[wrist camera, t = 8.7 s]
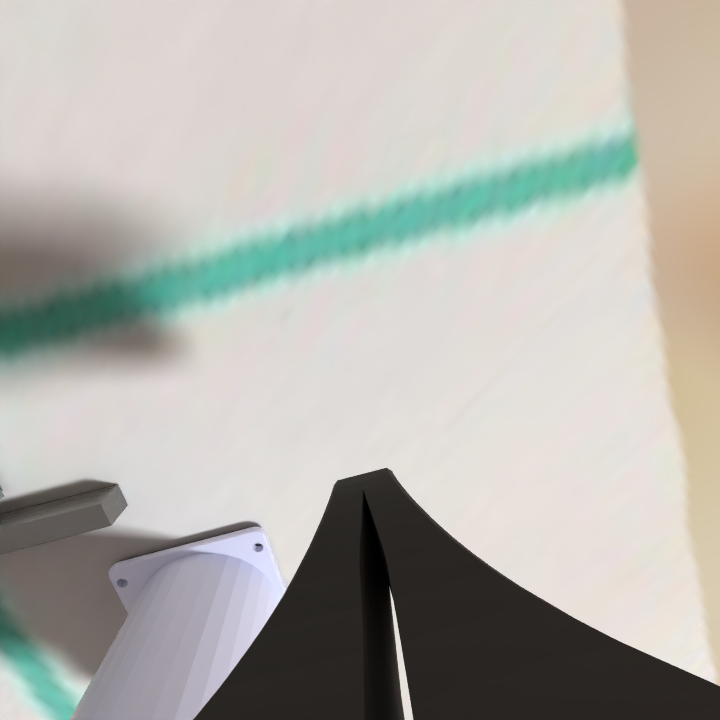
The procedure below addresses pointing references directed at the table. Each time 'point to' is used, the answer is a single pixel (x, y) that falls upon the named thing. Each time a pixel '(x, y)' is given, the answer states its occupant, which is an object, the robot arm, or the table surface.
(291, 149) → the table surface
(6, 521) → the vise body
